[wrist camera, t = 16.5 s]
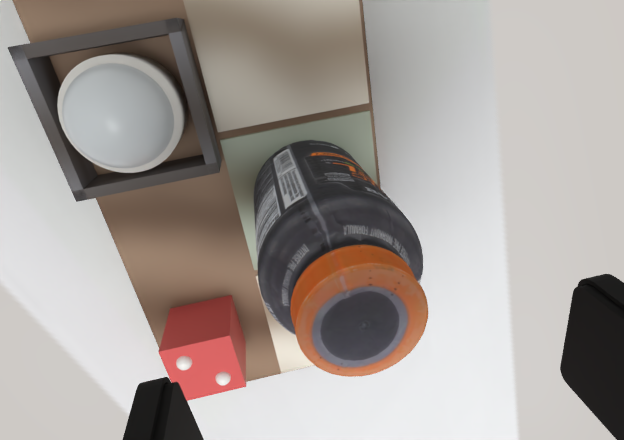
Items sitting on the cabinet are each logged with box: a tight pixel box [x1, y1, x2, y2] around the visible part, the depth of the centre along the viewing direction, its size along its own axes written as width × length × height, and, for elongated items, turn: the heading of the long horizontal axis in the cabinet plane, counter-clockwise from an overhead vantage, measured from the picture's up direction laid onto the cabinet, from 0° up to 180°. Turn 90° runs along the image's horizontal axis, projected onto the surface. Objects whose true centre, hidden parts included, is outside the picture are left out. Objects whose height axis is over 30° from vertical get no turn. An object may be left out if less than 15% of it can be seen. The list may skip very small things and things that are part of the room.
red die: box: [159, 295, 246, 401], centre depth 23 cm, size 4×4×4 cm
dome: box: [57, 53, 188, 173], centre depth 17 cm, size 5×5×4 cm
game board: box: [8, 0, 380, 382], centre depth 22 cm, size 24×14×3 cm, turn 9°
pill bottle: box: [253, 140, 428, 376], centre depth 17 cm, size 6×6×11 cm
